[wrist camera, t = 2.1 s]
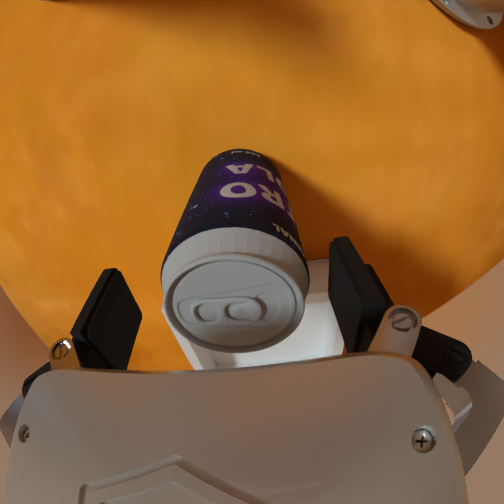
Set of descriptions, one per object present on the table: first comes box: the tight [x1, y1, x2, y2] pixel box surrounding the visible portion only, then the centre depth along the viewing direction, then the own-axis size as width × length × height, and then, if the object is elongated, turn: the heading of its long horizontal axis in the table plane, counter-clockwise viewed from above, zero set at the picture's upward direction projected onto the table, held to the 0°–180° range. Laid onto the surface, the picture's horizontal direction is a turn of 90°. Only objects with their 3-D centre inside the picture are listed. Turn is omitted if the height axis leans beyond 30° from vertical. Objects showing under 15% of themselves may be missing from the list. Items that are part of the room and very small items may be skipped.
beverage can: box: [161, 149, 310, 353], centre depth 14 cm, size 6×6×12 cm
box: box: [161, 258, 344, 370], centre depth 26 cm, size 15×15×4 cm
